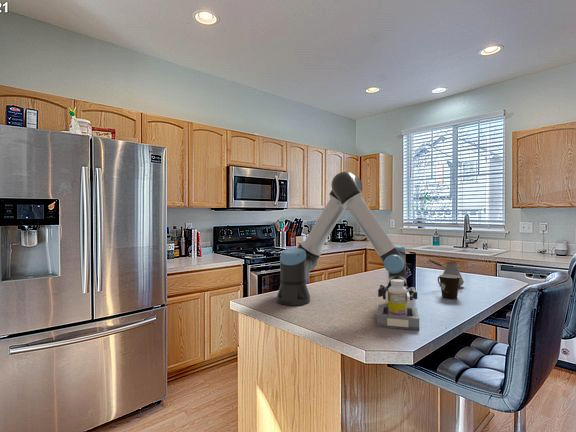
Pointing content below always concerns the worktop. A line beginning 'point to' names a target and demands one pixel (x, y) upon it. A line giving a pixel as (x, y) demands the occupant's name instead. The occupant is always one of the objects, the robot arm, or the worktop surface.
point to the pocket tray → (398, 318)
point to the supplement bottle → (397, 298)
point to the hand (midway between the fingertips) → (397, 299)
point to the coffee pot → (450, 270)
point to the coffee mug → (449, 286)
